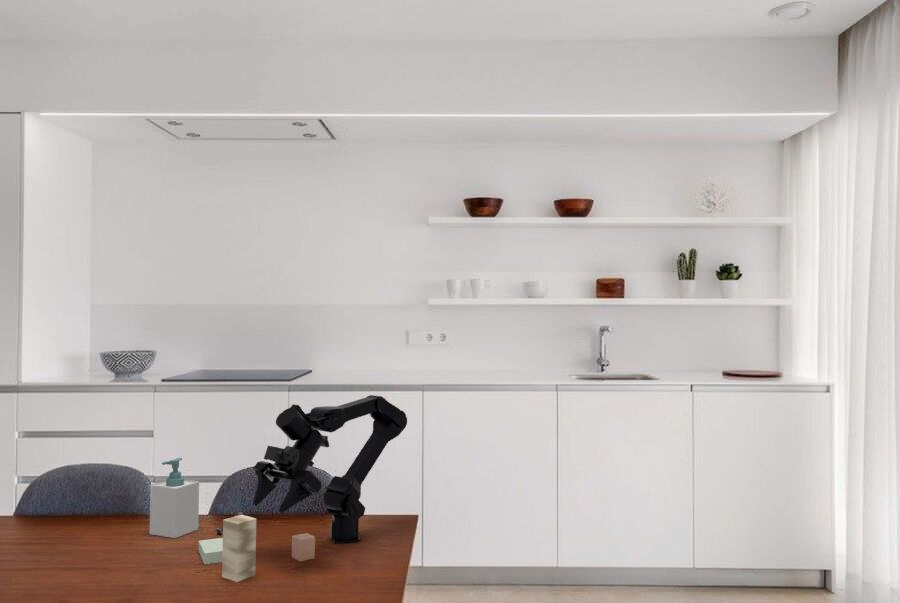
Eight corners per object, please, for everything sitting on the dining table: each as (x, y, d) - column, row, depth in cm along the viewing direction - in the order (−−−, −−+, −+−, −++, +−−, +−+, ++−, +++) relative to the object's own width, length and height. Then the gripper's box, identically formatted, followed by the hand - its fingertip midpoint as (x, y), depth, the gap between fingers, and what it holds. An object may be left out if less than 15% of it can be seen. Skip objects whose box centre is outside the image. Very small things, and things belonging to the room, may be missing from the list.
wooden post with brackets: (248, 524, 196) (242, 510, 195) (225, 543, 190) (219, 529, 189) (244, 523, 197) (238, 509, 196) (221, 542, 192) (215, 528, 190)
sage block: (240, 547, 181) (240, 535, 181) (248, 560, 172) (248, 547, 172) (198, 553, 177) (198, 540, 177) (204, 566, 168) (204, 553, 168)
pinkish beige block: (306, 553, 176) (307, 532, 176) (314, 558, 173) (315, 537, 173) (291, 557, 174) (292, 535, 174) (299, 561, 170) (299, 540, 171)
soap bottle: (148, 534, 189) (150, 460, 189) (173, 525, 197) (174, 454, 197) (174, 538, 186) (176, 463, 186) (198, 529, 194) (200, 457, 194)
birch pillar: (240, 570, 164) (241, 514, 164) (255, 575, 161) (256, 518, 161) (222, 576, 160) (223, 519, 160) (236, 582, 157) (237, 523, 157)
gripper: (259, 427, 177) (220, 482, 169) (311, 436, 166) (273, 495, 157) (284, 454, 184) (249, 508, 175) (337, 464, 172) (301, 522, 164)
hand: (267, 508), depth 168 cm, fingers open, 9 cm apart
